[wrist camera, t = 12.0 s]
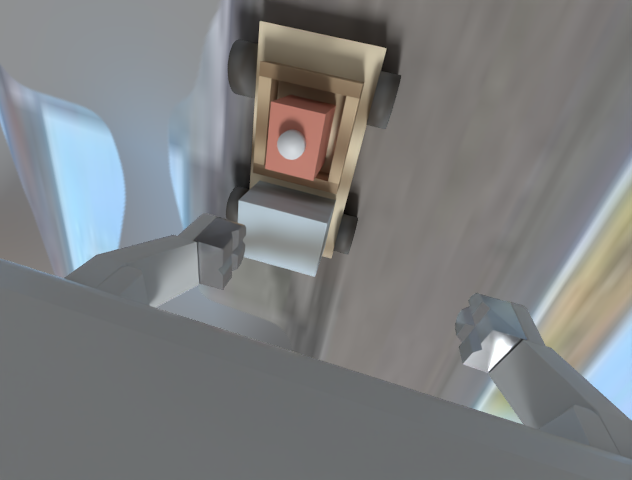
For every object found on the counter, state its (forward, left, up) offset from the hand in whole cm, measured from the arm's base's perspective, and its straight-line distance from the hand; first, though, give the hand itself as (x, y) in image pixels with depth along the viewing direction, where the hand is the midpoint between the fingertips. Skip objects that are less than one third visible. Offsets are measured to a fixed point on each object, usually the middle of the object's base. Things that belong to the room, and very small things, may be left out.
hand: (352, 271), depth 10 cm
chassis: (+3, -6, -20) cm, 21 cm away
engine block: (0, -6, -18) cm, 19 cm away
